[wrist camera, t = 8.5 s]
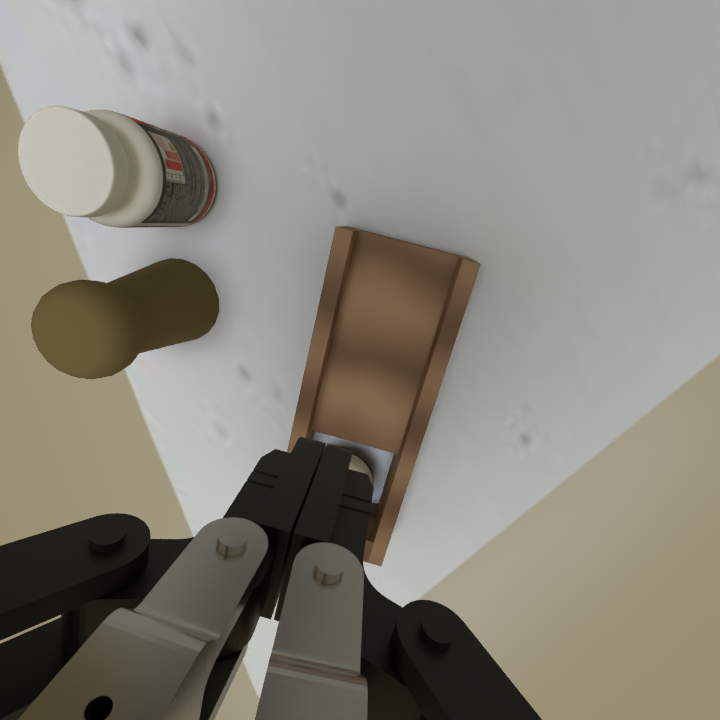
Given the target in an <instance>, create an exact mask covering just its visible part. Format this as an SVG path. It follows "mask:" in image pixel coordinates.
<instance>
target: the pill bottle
mask: <svg viewBox="0 0 720 720" xmlns="http://www.w3.org/2000/svg"><path fill="white" fill-rule="evenodd" d="M18 154H19V162H20V166H21V170H22V173H23V175H24V178H25V180H26V182H27V184H28V185H29V187H30V188H31V190H32V191H33V193H34V194H35V195H36V196H37V197H38V198H39V199H40V200H41V201H42V202H43V203H44V204H45V205H47V206H48V207H50V208H51V209H53V210H55V211H57V212H59V213H62V214H65V215H68V216H75V217H88V218H89V219H91V220H93V221H95V222H97V223H100V224H103V225H106V226H111V227H121V228H127V227H181V226H187V225H190V224H193V223H195V222H197V221H199V220H200V219H201V218H203V217H204V215H205V214H206V213H207V212H208V211H209V209H210V207H211V205H212V203H213V200H214V196H215V189H216V184H215V176H214V172H213V169H212V166H211V164H210V162H209V160H208V158H207V157H206V155H205V154H204V152H203V151H202V150H201V149H200V148H199V147H198V146H197V145H196V144H194V143H193V142H192V141H190V140H188V139H187V138H185V137H182V136H180V135H177V134H174V133H172V132H169V131H166V130H163V129H161V128H158V127H155V126H153V125H150V124H148V123H145V122H142V121H139V120H137V119H134V118H131V117H128V116H126V115H123V114H120V113H117V112H113V111H108V110H90V111H86V112H82V111H78V110H75V109H72V108H68V107H63V106H52V107H47V108H44V109H41V110H39V111H38V112H36V113H35V114H33V115H32V116H31V117H30V118H29V119H28V121H27V122H26V124H25V125H24V127H23V129H22V132H21V134H20V139H19V146H18Z"/></svg>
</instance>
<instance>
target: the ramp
mask: <svg viewBox="0 0 720 720" xmlns="http://www.w3.org/2000/svg"><path fill="white" fill-rule="evenodd" d="M479 266H480V264H479V263H477V262H476V261H474V260H472V259H471V258H467V257H463V256H459V255H456V254H452V253H448V252H444V251H440V250H436V249H432V248H429V247H425V246H421V245H417V244H413V243H409V242H405V241H401V240H398V239H394V238H390V237H386V236H382V235H378V234H374V233H371V232H367V231H363V230H359V229H355V228H351V227H347V226H341V227H336V228H335V233H334V237H333V242H332V247H331V251H330V256H329V261H328V265H327V270H326V274H325V279H324V284H323V288H322V293H321V298H320V302H319V307H318V312H317V316H316V321H315V325H314V330H313V335H312V339H311V344H310V349H309V353H308V358H307V363H306V367H305V372H304V376H303V381H302V386H301V390H300V395H299V400H298V404H297V409H296V414H295V418H294V423H293V427H292V432H291V437H290V441H289V446H288V451H287V452H288V453H291V452H292V450H293V448H294V446H295V444H296V442H297V440H298V438H299V437H304V438H307V439H311V440H312V438H313V434H314V431H316V432H320V433H323V434H327V435H331V436H334V437H338V438H342V439H345V440H349V441H352V442H356V443H360V444H363V445H367V446H371V447H374V448H378V449H381V450H385V451H389V452H392V453H394V456H393V459H392V462H391V466H390V469H389V472H388V475H387V479H386V482H385V485H384V488H383V492H382V495H381V498H380V501H379V505H378V504H374V503H371V509H370V514H369V522H368V529H367V536H366V543H365V550H364V557H363V561H365V562H368V563H372V564H375V565H379V566H381V565H382V562H383V559H384V556H385V553H386V550H387V547H388V544H389V541H390V538H391V535H392V532H393V529H394V526H395V523H396V520H397V517H398V514H399V511H400V507H401V504H402V501H403V498H404V495H405V492H406V489H407V486H408V483H409V480H410V477H411V474H412V471H413V468H414V465H415V462H416V459H417V456H418V453H419V449H420V446H421V443H422V440H423V437H424V434H425V431H426V428H427V425H428V422H429V419H430V416H431V413H432V410H433V407H434V404H435V401H436V398H437V395H438V391H439V388H440V385H441V382H442V379H443V376H444V373H445V370H446V367H447V364H448V361H449V358H450V355H451V352H452V349H453V346H454V343H455V340H456V337H457V334H458V330H459V327H460V324H461V321H462V318H463V315H464V312H465V309H466V306H467V303H468V300H469V297H470V294H471V291H472V288H473V285H474V282H475V279H476V276H477V272H478V269H479Z"/></svg>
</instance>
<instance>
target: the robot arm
mask: <svg viewBox="0 0 720 720" xmlns="http://www.w3.org/2000/svg"><path fill="white" fill-rule="evenodd" d="M325 445H326V444H325V443H322V442H319V441H315V440H311V439H307V438H304V437H299V438H298V440H297V442H296V444H295V446H294V448H293V450H292V452H291V453H288V452H284V451H280V450H277V449H275V450H273V451H271V452H270V453H268V454H266V455H265V456H263V457H261V459H260V460H259V462H258V463H257V465H256V467H255V468H254V471H253V472H252V473H251V475H250V476H249V478H248V479H247V482H245V484H244V486H243V487H242V489H241V490H240V492H239V493H238V495H237V497H236V498H235V500H234V501H233V503H232V504H231V506H230V508H229V509H228V511H227V512H226V514H225V515H224V517H223V518H222V519H218V520H215V521H212V522H210V523H209V524H207V525H206V526H204V527H203V528H202V529H201V530H200V531H199V532H198V533H197V535H196V536H195V537H193V538H188V539H150V530H149V528H148V526H147V525H146V523H145V522H143V521H142V520H141V519H139V518H137V517H135V516H132V515H127V514H118V513H117V514H105V515H100V516H96V517H93V518H89V519H86V520H83V521H80V522H76V523H73V524H70V525H67V526H63V527H60V528H57V529H54V530H51V531H47V532H44V533H41V534H38V535H34V536H31V537H28V538H24V539H21V540H18V541H15V542H12V543H8V544H5V545H2V546H0V640H3V639H5V638H7V637H10V636H12V635H14V634H17V633H19V632H21V631H24V630H26V629H28V628H30V627H33V626H35V625H38V624H40V623H42V622H44V621H47V620H49V619H51V618H54V617H56V616H58V615H61V618H59V619H56V620H54V621H52V622H49V623H47V624H45V625H42V626H40V627H38V628H36V629H33V630H31V631H29V632H27V633H24V634H22V635H20V636H17V637H15V638H13V639H10V640H8V641H6V642H4V643H1V644H0V720H214V719H215V717H216V715H217V713H218V710H219V708H220V706H221V704H222V702H223V700H224V698H225V696H226V693H227V692H228V689H229V687H230V685H231V683H232V681H233V679H234V677H235V675H236V672H237V670H238V668H239V666H240V664H241V662H242V660H243V658H244V655H245V653H246V650H247V647H248V642H249V641H250V639H251V637H252V635H253V633H254V630H255V628H256V625H257V622H258V620H259V617H260V616H261V617H265V618H268V619H271V617H272V614H273V612H274V609H275V606H276V603H277V600H278V598H279V600H278V604H277V609H276V613H275V617H274V620H276V621H279V624H278V628H277V632H276V636H275V641H274V645H273V649H272V653H271V657H270V660H269V664H268V668H267V672H266V676H265V680H264V684H263V688H262V693H261V697H260V701H259V705H258V709H257V713H256V717H255V720H541V718H540V717H539V716H538V714H537V713H536V712H535V711H534V709H533V708H532V707H531V706H530V704H529V703H528V702H527V701H526V699H525V698H524V697H523V696H522V694H521V693H520V692H519V691H518V689H517V688H516V687H515V686H514V684H513V683H512V682H511V681H510V679H509V678H508V677H507V676H506V674H505V673H504V672H503V671H502V669H501V668H500V667H499V666H498V664H497V663H496V662H495V661H494V659H493V658H492V657H491V656H490V654H489V653H488V652H487V651H486V649H485V648H484V647H483V646H482V644H481V643H480V642H479V641H478V639H477V638H476V637H475V636H474V634H473V633H472V632H471V631H470V629H469V628H468V627H467V626H466V624H465V623H464V622H463V621H462V620H461V619H460V618H459V617H458V615H456V614H455V613H454V612H453V611H452V610H450V609H449V608H447V607H445V606H443V605H442V604H439V603H437V602H433V601H429V600H417V601H413V602H410V603H409V604H407V605H406V606H404V607H403V608H402V607H400V606H399V605H397V604H395V603H394V602H392V601H391V600H389V599H387V598H386V597H384V596H383V595H382V594H380V593H379V592H378V591H377V590H376V589H375V588H374V587H373V586H372V584H371V583H370V582H369V580H368V578H367V576H366V574H365V571H364V567H363V557H364V550H365V543H366V536H367V529H368V522H369V514H370V509H371V502H372V495H373V485H372V483H371V481H370V479H369V476H368V474H365V473H362V472H358V471H354V470H351V469H349V465H350V461H351V457H352V454H353V451H352V450H349V449H345V448H341V447H337V446H334V445H330V444H327V447H326V449H325ZM324 450H325V452H324Z"/></svg>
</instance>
